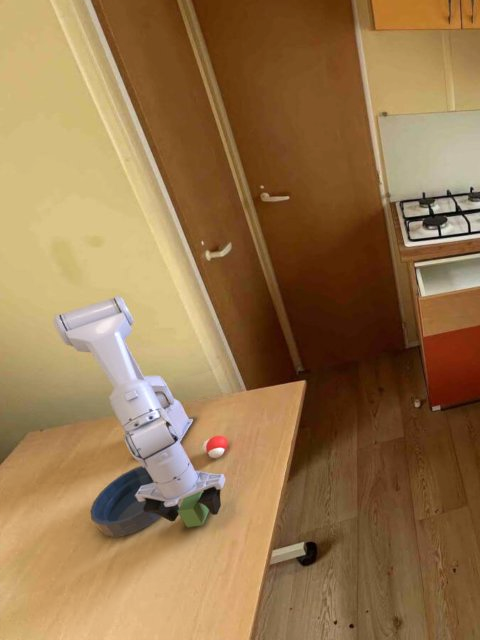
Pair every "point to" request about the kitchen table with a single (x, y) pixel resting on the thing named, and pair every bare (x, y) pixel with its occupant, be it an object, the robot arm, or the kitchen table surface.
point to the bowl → (123, 505)
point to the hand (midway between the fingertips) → (196, 513)
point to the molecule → (215, 446)
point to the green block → (193, 511)
